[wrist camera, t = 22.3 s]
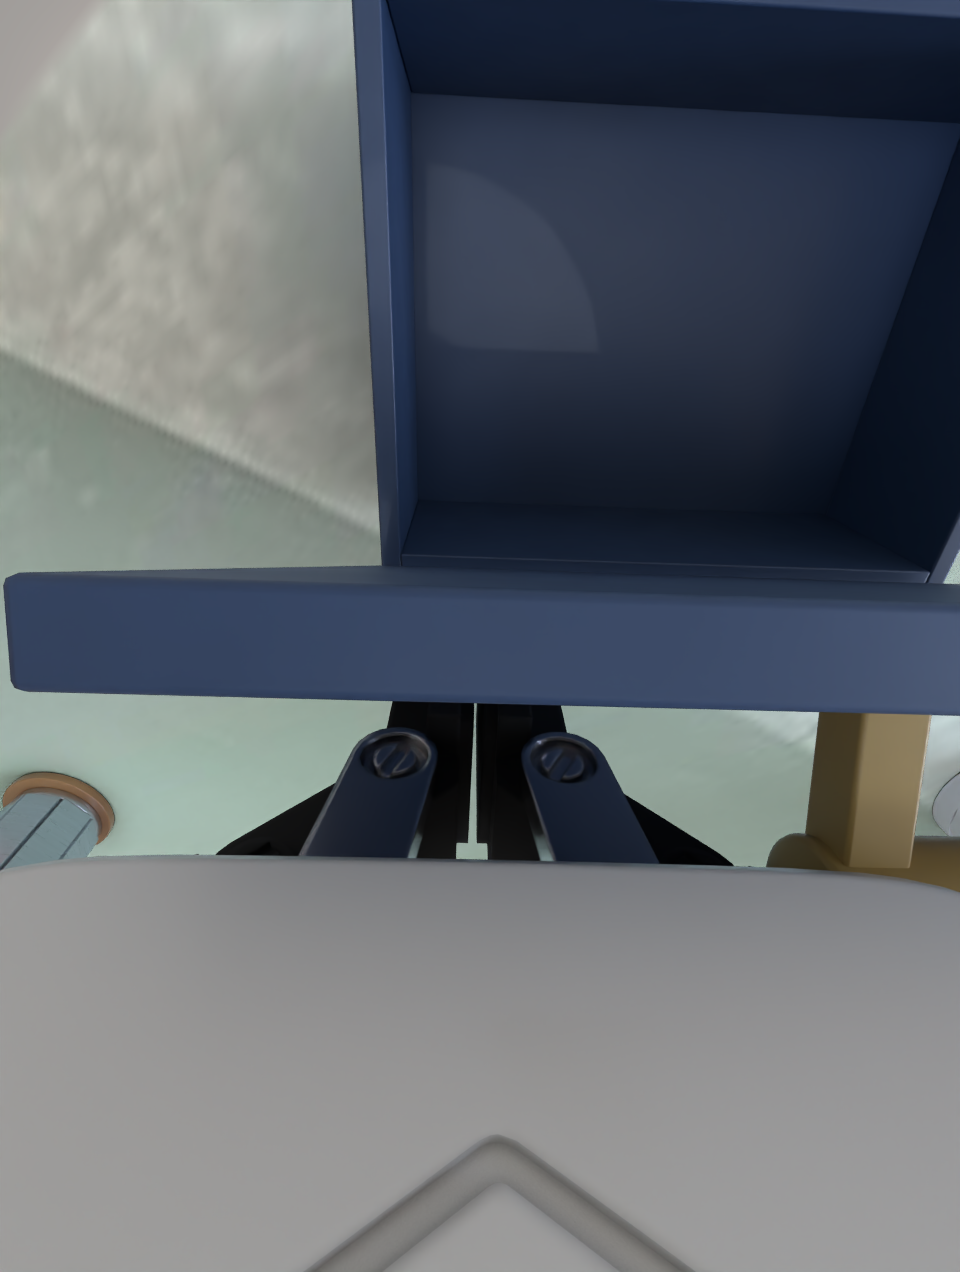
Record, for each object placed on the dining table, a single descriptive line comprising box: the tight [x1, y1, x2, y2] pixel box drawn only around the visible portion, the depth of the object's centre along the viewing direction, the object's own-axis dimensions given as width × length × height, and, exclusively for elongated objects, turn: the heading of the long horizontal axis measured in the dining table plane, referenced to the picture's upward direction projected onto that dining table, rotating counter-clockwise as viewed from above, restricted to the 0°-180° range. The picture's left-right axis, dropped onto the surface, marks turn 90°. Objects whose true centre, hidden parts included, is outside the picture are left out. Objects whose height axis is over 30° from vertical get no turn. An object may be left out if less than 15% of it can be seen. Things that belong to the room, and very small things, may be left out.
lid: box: [3, 566, 960, 892], centre depth 10 cm, size 14×18×4 cm
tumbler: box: [0, 787, 102, 870], centre depth 28 cm, size 5×5×6 cm
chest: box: [352, 0, 960, 584], centre depth 17 cm, size 13×18×7 cm
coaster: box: [3, 772, 114, 845], centre depth 31 cm, size 6×6×1 cm
